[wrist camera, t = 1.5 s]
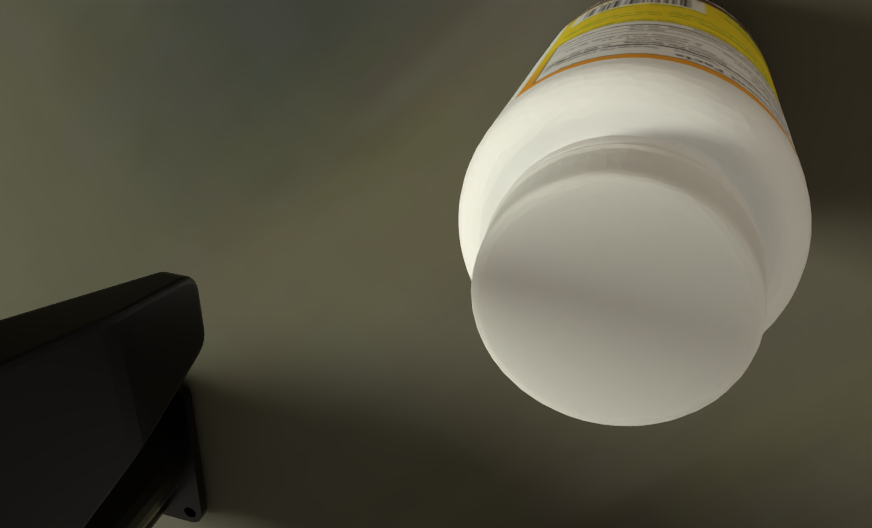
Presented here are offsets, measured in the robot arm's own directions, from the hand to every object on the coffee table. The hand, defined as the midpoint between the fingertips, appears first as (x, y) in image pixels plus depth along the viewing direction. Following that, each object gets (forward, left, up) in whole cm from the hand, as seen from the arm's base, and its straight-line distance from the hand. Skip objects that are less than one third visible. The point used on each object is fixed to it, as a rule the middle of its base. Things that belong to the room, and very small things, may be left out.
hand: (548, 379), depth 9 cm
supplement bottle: (0, 0, -13) cm, 13 cm away
